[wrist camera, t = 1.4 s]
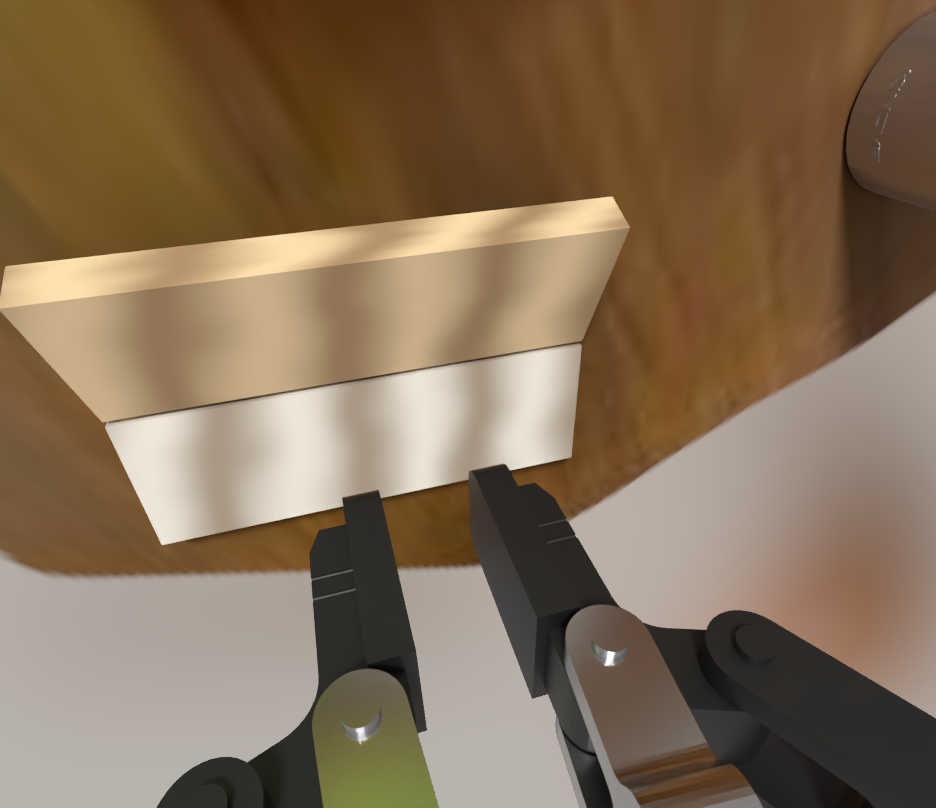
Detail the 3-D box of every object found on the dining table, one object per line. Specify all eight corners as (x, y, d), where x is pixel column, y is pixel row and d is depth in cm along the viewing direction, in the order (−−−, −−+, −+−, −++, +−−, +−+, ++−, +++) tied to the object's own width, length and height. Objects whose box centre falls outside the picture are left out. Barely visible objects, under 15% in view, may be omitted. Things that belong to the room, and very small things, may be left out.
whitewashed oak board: (566, 329, 34) (581, 345, 32) (558, 438, 38) (571, 457, 37) (113, 404, 29) (104, 427, 27) (167, 519, 33) (161, 545, 32)
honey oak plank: (612, 196, 26) (630, 227, 25) (569, 312, 33) (582, 340, 32) (5, 266, 21) (-2, 308, 20) (104, 386, 28) (102, 422, 27)
